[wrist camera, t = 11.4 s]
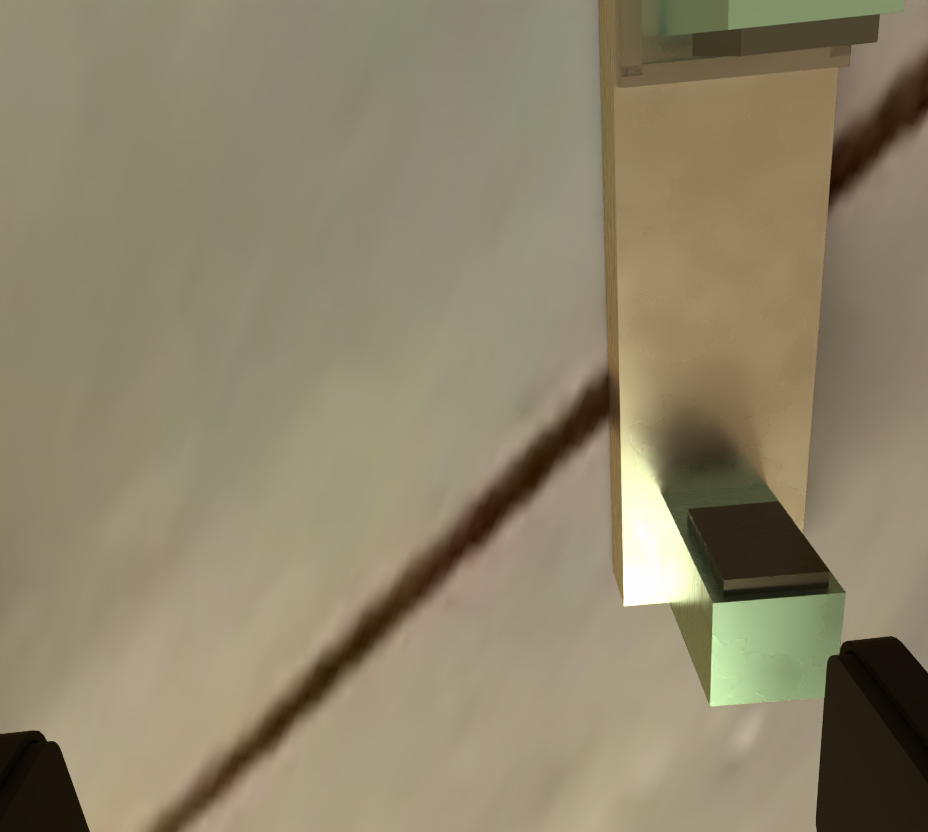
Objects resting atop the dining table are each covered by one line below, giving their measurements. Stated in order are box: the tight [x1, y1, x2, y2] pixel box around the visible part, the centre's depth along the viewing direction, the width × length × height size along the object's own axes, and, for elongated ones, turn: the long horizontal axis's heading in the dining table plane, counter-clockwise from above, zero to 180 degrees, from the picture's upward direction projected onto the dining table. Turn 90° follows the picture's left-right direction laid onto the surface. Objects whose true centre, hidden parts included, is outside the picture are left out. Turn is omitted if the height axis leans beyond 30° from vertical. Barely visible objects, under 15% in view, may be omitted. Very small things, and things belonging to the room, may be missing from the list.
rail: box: [599, 0, 851, 706], centre depth 27 cm, size 7×26×10 cm, turn 5°
